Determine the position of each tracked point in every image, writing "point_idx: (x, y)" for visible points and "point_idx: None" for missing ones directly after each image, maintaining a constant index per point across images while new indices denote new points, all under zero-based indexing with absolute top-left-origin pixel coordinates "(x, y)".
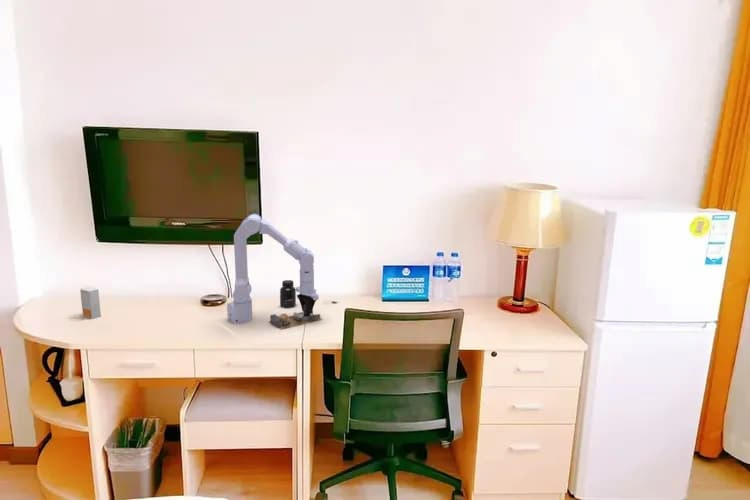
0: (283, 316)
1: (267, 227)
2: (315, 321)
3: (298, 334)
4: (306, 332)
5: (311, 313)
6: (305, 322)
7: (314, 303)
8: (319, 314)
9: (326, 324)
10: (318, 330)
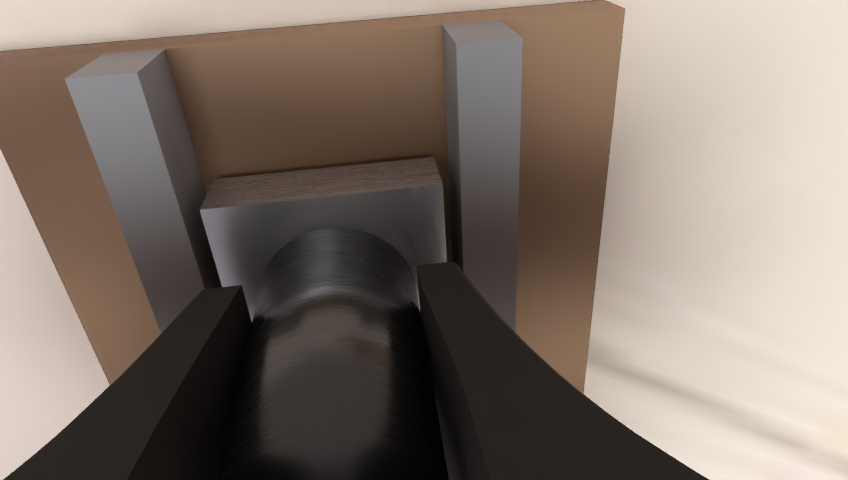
0: None
1: None
2: (603, 197)
3: (730, 475)
4: (757, 397)
5: (170, 100)
6: (536, 351)
7: (628, 434)
8: (506, 52)
9: (758, 10)
10: (838, 253)
